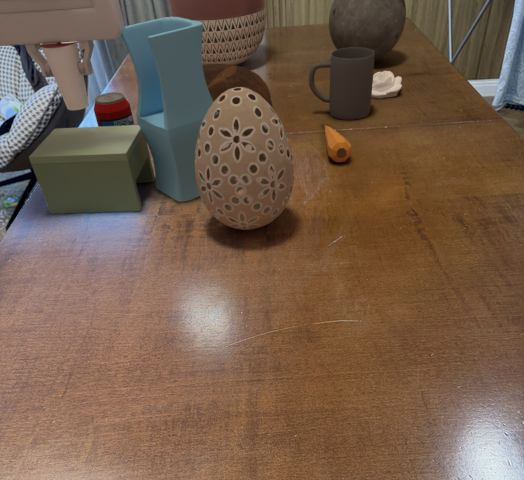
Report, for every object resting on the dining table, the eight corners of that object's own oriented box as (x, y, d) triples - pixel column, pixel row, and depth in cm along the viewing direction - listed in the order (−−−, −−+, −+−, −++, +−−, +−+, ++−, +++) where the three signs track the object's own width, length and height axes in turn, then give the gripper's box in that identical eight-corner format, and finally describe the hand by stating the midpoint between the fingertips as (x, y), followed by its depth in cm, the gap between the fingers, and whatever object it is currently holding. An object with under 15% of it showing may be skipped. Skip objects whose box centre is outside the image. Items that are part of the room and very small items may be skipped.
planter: (238, 82, 134) (227, -47, 115) (159, 73, 144) (137, -46, 126) (285, 55, 150) (282, -62, 131) (211, 48, 160) (199, -60, 142)
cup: (81, 98, 83) (56, 12, 75) (101, 104, 80) (77, 15, 72) (54, 109, 80) (24, 21, 72) (74, 115, 77) (45, 24, 69)
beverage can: (118, 170, 98) (100, 106, 90) (102, 160, 102) (84, 97, 94) (148, 159, 101) (134, 96, 93) (132, 150, 105) (117, 88, 97)
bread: (130, 128, 114) (120, 86, 108) (179, 89, 133) (173, 51, 126) (249, 135, 107) (246, 91, 101) (283, 92, 125) (282, 53, 119)
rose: (414, 70, 118) (388, 80, 113) (411, 90, 121) (385, 101, 116) (380, 63, 123) (354, 73, 119) (378, 82, 126) (352, 93, 122)
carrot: (347, 168, 94) (357, 144, 92) (325, 161, 93) (335, 137, 90) (330, 138, 110) (338, 117, 107) (311, 131, 109) (319, 110, 106)
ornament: (197, 249, 76) (173, 111, 62) (210, 202, 87) (191, 75, 73) (294, 247, 75) (291, 106, 61) (295, 199, 85) (293, 70, 71)
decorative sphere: (353, 48, 150) (358, -35, 137) (414, 57, 140) (425, -33, 126) (313, 66, 140) (314, -23, 126) (375, 76, 130) (383, -18, 116)
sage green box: (50, 213, 87) (28, 157, 80) (72, 182, 96) (54, 128, 89) (140, 211, 86) (126, 153, 79) (155, 179, 94) (143, 124, 88)
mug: (369, 105, 115) (373, 45, 107) (371, 120, 109) (376, 58, 101) (309, 107, 117) (309, 48, 109) (308, 121, 111) (308, 60, 102)
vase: (152, 186, 92) (116, 28, 75) (196, 168, 97) (171, 15, 79) (181, 204, 87) (150, 37, 69) (226, 184, 91) (208, 23, 74)
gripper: (116, -47, 69) (139, 65, 78) (-26, -37, 70) (14, 72, 80) (103, -41, 64) (129, 77, 74) (-49, -30, 66) (-4, 84, 76)
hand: (68, 75), depth 77 cm, fingers closed on cup, 4 cm apart
